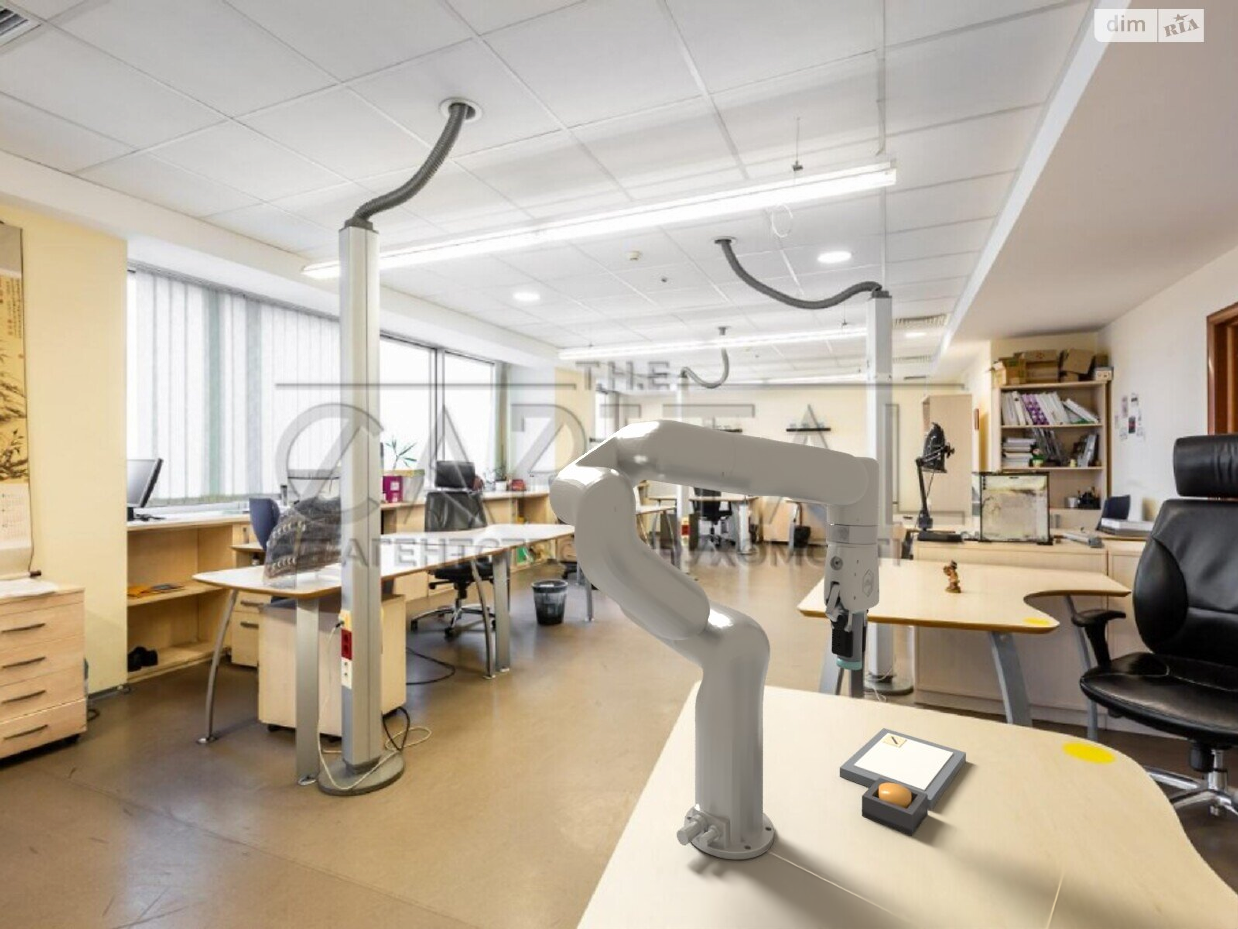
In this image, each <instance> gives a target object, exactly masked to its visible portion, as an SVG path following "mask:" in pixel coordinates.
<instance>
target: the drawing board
mask: <svg viewBox="0 0 1238 929" xmlns="http://www.w3.org/2000/svg"><path fill="white" fill-rule="evenodd" d="M966 762H967V752H965V751H962V750H958V749H955V748H952V747H949V746H945V745H942V744H939V743H934V742H932V741H928V740H925V739H922V738H919V737H915V736H912V735H908V734H905V733H901V732H898V731H894V730H892V729H889V728H885V727H882V729H880V730H879V731H878V732H877V733H876V734H875V735H874V736H873V737H872V738H870V740H868V742H866V743H865V744H864V745H863V746H862V747H861V748H859V749H858V750H857V751H856V752H855V753H854V754H853V755H852V756H851V757H850V758H848V759H847V760H846V761H845V762H844V763H843V764H842V765H841V766H840V767H839V777H840V778H843V779H845V780H849V781H851V782H853V783H857V784H860V785H862V786H864V787H867V788H870V787H871V786H872V785H873V784H874V783H875V782H876V780H877V779H878V778H879V777H880V778H883V779H885V780H888V781H891V782H894V783H897V784H900V785H902V786H905V787H908V788H911V789H914V790H916V791H919V792H922V793H925V794H928V810H929V811H931V810H933V808H934V806H935V805H936V803H937V802H938V801H939V800H940V797H941V796H942V795H943V793H944V792H945V790H946V789H947V788H948V787H949V785H950V784H951V782H952V781H953V780H954V778H955V777H956V776H957V774H958V773H959V771H960V770H961V769H962V768H963V766H964V764H965V763H966Z"/></svg>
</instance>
